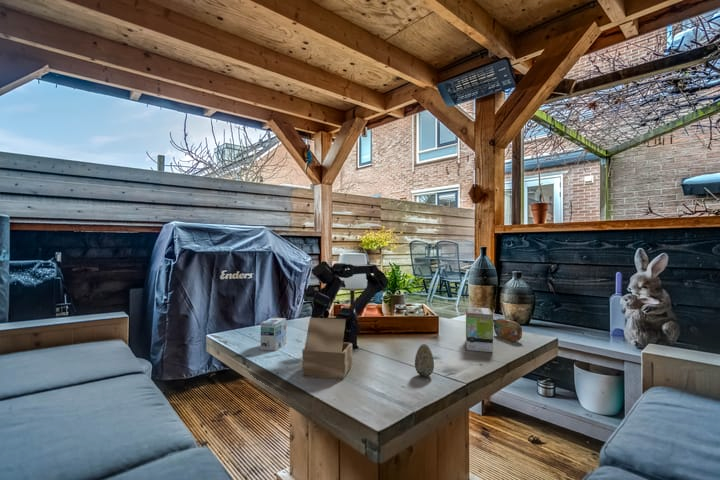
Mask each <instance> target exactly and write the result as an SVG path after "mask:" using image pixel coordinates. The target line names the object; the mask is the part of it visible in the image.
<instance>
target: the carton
mask: <svg viewBox="0 0 720 480" xmlns="http://www.w3.org/2000/svg"><path fill="white" fill-rule="evenodd" d="M304 349H305V347H304V348H303V349H302V354H301V355H302V358H301V359H302V361H301V362H302V363H301V366H302V370H301V371H302V373H303V375H302V377H308V378H322V379H333V380H335V379H336V380H344V379H345V377H346V376H347V374H348V373H349V371H350V370H351V369H352V366H353V349H352V343H350V342H343V345H342V353H336V352H320V351H305V350H304Z"/></svg>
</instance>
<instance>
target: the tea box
mask: <svg viewBox="0 0 720 480" xmlns="http://www.w3.org/2000/svg"><path fill="white" fill-rule="evenodd" d="M465 311H466V312H465V342H466V350H467V351H474V352H475V351H476V352H484V353H485V352H486V353H487V352H489V353H492V352H494V314H493V312H492V310H491V308H490V307H474V306H473V307H471V306H466V307H465Z"/></svg>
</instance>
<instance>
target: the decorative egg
mask: <svg viewBox="0 0 720 480" xmlns="http://www.w3.org/2000/svg"><path fill="white" fill-rule="evenodd" d="M414 358H415V359H414V367H415V371H416V372H417V374H418V375H419V376H421V377H423V378H427V377H429V376H431V375H432V374H433V372H434V370H435V361H434V360H435V359H434V356H433V352H432V350H431V348H430V347H429V346H428V344H426V343H423V344H420V346H418V349H417V351H416V354H415V357H414Z"/></svg>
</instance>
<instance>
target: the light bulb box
mask: <svg viewBox="0 0 720 480" xmlns="http://www.w3.org/2000/svg"><path fill="white" fill-rule="evenodd" d="M286 344H287V318H285V317H270V318H269V319H266V320H264V321H262V322H260V350H263V351H274V352H275V351H277V350H279V349H281V348H282V347H283V346H286Z"/></svg>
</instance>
